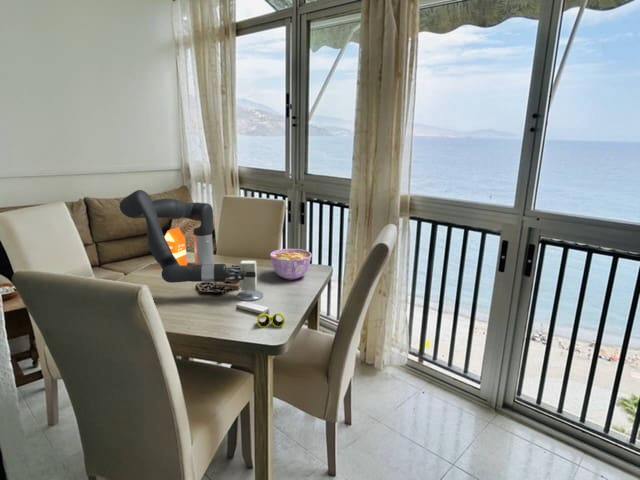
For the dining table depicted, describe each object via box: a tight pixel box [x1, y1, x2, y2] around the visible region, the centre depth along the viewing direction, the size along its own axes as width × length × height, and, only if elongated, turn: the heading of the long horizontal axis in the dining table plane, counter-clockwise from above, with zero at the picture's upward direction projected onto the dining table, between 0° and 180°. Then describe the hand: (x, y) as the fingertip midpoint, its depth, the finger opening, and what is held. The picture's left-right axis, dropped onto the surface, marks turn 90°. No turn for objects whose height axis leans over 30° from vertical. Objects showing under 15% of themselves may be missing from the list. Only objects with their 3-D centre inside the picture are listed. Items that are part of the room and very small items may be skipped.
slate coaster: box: [236, 290, 264, 302], centre depth 168 cm, size 11×11×1 cm
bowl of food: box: [269, 248, 313, 280], centre depth 191 cm, size 20×20×12 cm
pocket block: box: [214, 278, 241, 291], centre depth 179 cm, size 9×11×2 cm
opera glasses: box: [256, 312, 286, 329], centre depth 142 cm, size 10×5×5 cm, turn 97°
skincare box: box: [239, 260, 258, 292], centre depth 165 cm, size 6×4×12 cm
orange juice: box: [164, 227, 188, 266], centre depth 202 cm, size 8×9×20 cm
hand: (255, 272), depth 165 cm, fingers closed on skincare box, 5 cm apart
